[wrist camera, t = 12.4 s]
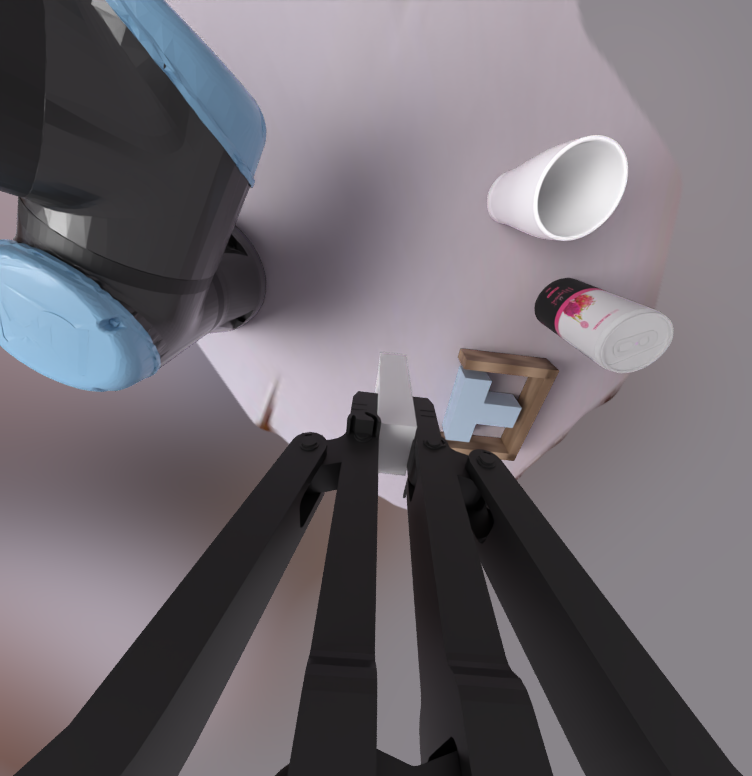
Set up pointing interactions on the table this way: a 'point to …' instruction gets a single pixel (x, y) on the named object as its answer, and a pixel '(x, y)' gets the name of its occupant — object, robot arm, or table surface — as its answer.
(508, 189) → the white paper cup
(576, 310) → the beverage can
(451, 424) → the tee block
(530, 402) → the walnut corral
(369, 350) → the table surface
